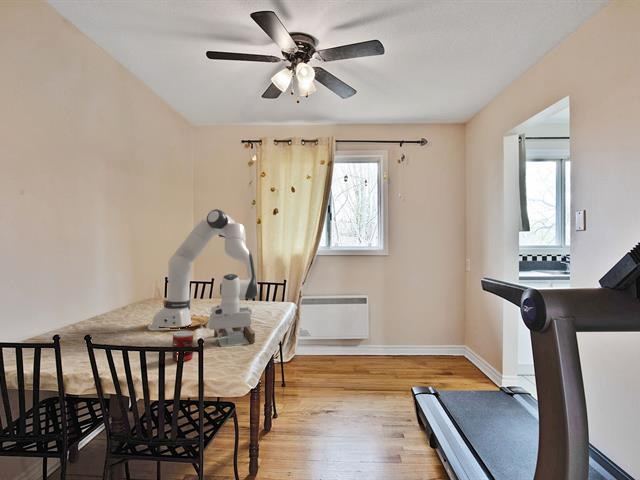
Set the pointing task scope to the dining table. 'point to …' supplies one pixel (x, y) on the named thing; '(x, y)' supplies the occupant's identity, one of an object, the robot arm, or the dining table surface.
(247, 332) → the arena
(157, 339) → the dining table surface
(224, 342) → the pad
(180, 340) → the canned food
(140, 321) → the dining table surface
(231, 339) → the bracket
